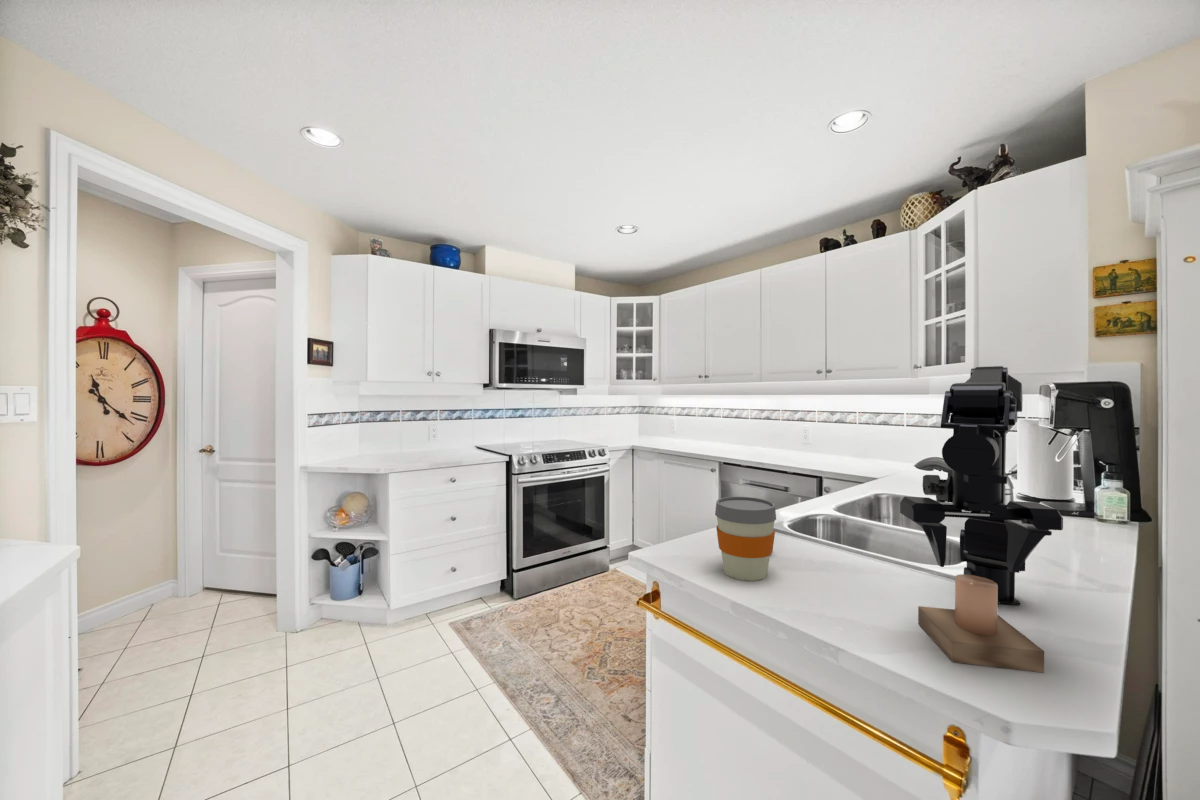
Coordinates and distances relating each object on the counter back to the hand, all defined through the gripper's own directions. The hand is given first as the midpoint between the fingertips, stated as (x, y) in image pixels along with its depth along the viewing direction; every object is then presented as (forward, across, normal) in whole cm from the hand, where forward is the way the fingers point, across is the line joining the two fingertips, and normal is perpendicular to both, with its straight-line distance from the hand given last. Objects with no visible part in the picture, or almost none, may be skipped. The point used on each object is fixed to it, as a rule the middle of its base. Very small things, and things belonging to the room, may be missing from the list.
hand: (975, 568), depth 69 cm
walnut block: (+12, 0, 0) cm, 12 cm away
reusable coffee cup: (+12, +32, -22) cm, 41 cm away
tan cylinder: (+9, 0, 0) cm, 9 cm away
